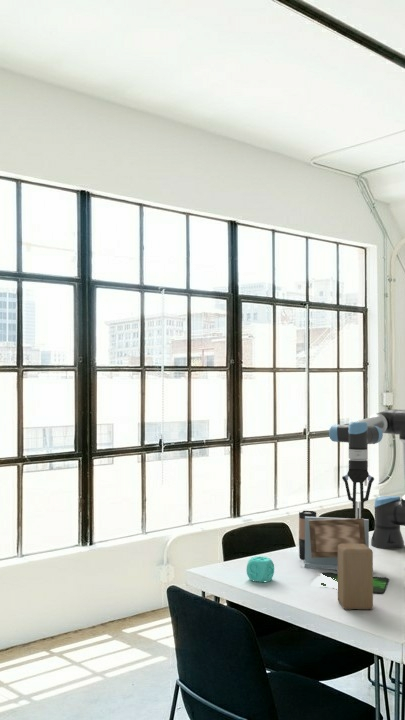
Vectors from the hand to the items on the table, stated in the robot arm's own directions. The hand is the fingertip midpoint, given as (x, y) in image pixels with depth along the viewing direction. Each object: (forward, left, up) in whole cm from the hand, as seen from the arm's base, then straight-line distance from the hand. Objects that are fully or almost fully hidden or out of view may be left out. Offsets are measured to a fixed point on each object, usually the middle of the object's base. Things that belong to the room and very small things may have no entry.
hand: (358, 518), depth 276 cm
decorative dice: (+38, -19, -22) cm, 48 cm away
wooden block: (+39, +24, -22) cm, 51 cm away
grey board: (0, -10, -22) cm, 24 cm away
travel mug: (-3, -27, -22) cm, 35 cm away
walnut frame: (+4, -6, -16) cm, 18 cm away
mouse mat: (+16, +7, -22) cm, 28 cm away
